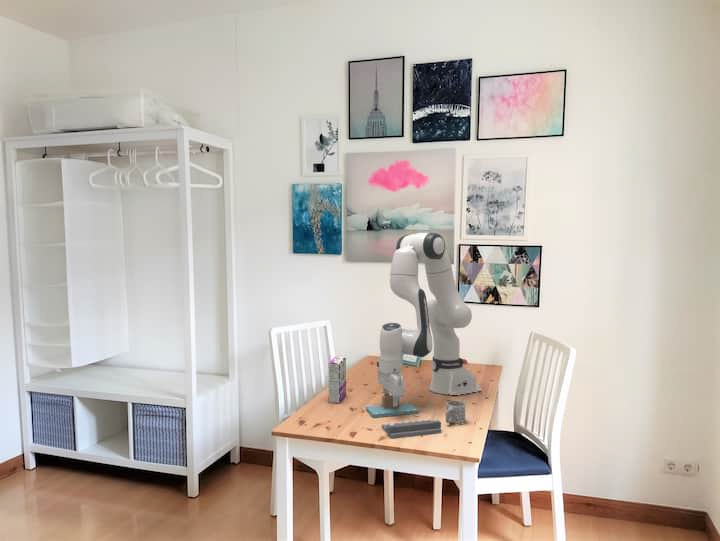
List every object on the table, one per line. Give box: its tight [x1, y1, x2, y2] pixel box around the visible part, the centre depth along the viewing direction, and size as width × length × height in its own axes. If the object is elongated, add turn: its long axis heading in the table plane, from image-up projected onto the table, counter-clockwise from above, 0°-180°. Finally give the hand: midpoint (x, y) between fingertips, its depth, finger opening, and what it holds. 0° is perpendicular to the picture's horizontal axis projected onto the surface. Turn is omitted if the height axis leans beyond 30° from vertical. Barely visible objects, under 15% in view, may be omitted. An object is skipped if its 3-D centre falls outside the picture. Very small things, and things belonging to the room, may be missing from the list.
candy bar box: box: [328, 355, 347, 404], centre depth 218 cm, size 11×5×16 cm, turn 168°
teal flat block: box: [365, 394, 419, 418], centre depth 203 cm, size 18×9×5 cm, turn 106°
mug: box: [445, 400, 466, 425], centre depth 192 cm, size 10×7×7 cm, turn 141°
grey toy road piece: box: [381, 418, 442, 439], centre depth 184 cm, size 19×10×4 cm, turn 106°
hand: (390, 401), depth 205 cm, fingers open, 8 cm apart
